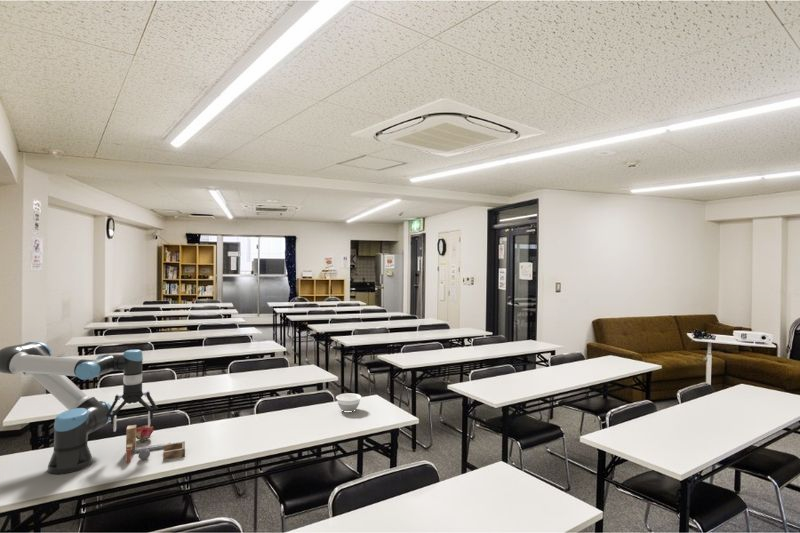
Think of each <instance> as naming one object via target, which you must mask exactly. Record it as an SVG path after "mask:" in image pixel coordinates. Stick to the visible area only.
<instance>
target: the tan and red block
mask: <svg viewBox="0 0 800 533" xmlns="http://www.w3.org/2000/svg"><path fill="white" fill-rule="evenodd" d="M136 429H137V424H133V425H131V424H130V425H127V427H126V432H125V433H126V434H125V435H126V436H125V438H126V440H125V453H126V457H125V458H126V459H125V462H126V463H131V461H132V454H131V451H133V450H135V449H136V448H137V438H136Z"/></svg>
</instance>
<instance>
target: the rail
mask: <svg viewBox="0 0 800 533" xmlns="http://www.w3.org/2000/svg"><path fill="white" fill-rule="evenodd" d="M171 443H172V442H165V443H159V444H153V445H152V444H151V445H147V446H141V447H136V449H135V450H133V451H131V455H133V454H139V453H140V451H141V450H143V449H148V450H149V451H150V452H151V451H157V450H164V445H165V444H171Z"/></svg>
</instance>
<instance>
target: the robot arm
mask: <svg viewBox="0 0 800 533" xmlns="http://www.w3.org/2000/svg"><path fill="white" fill-rule="evenodd" d="M51 351H52V350H51V348H50V347H49V345H47V344H46V343H44V342H40V341H29V342H25V343H22V344H21V343H20V344H16V345H11V346H6V347H3V348H1V349H0V373H1V374H11V375H19V374H23V375H24V376H26V377H32V378H34V379H35V380H36V381H37V382H38V383H39V384H40V385H42V387H44V389H46V390H47V391H48V392H49V393H50V394H51V395H52V396H53V397H54V398H55V399H56V400H57V401H58V402H59V403H60V404H61V405H63V406H64V408H66V409H67V410H65V411H63V412H61V413H59V414H58V415H56V417H55V419H54V424H53V452H52V454H51V457H50V460H49V462H48V464H47V472H48V473H49V474H52V475H64V474H69V473H74V472H76V471H79V470H82V469H84V468H87V467H89V466H90V465H91V464H92V462H93V456H92V452H91V451H90V448H89V446H88V439H89V435H90V434H92V433H94V432H95V431H97V430H100V429H102V428H103V427H104V426H106V425H107V424H109V423H110V425H113V432H114V433H115V432H117V414H118V413H119V412H120V411H121V409H123V407H125V405H126V404H129V405H130V404H137V403H139V404H141V406H142V407H144V408H145V409H146V410H147V411H148V412H147V425H148V427H151V420H152V419H153V418H154V412H155V411H157V410H158V405H157V404H156V402H155V401H154V399H153V397H152V396H151V393H150V390H146V391H144V392H143V361H144V356H143V351H142V350H141V349H128V350H124V352H123V354H111V353H110V354H109V353H107V354H100V355H99V356H97V357H96V358H94V359H83V358H73V357H60V356H52V353H51ZM117 371H118V372H120V371H121V372H123V377H122V378H123V379H122V381H123V382H122V383H123V388H122V390H123V391H122V394H116V395H115V397H114V401H113V402H112V404H111V403H109V402H108V401H105V400H98V399H97V398H96V397H95V396H87V394H85V393H84V392H83V390H82V389H80V388H79V387H78V386H77V384H75V383H74V382H73V381H72V380H71V379H69V377H77V378H78V379H80V380H83V381H85V380H90V379H94V378H97V377H100V376H102V375H105V374H107V373H111V372H117ZM68 376H69V377H68ZM143 396H144V397H145V398H147V400H148V401H149V404H150V405H149V404H148V403H147V402H146V401H145V400H144V399H143ZM120 399H122V400H123V401H122V403H121V404H120V405H118V407H117V408H116V409H115V410H114V408H115V406H116V405H117V403H118V401H120ZM151 406H152V407H151ZM113 410H114V411H113Z"/></svg>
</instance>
